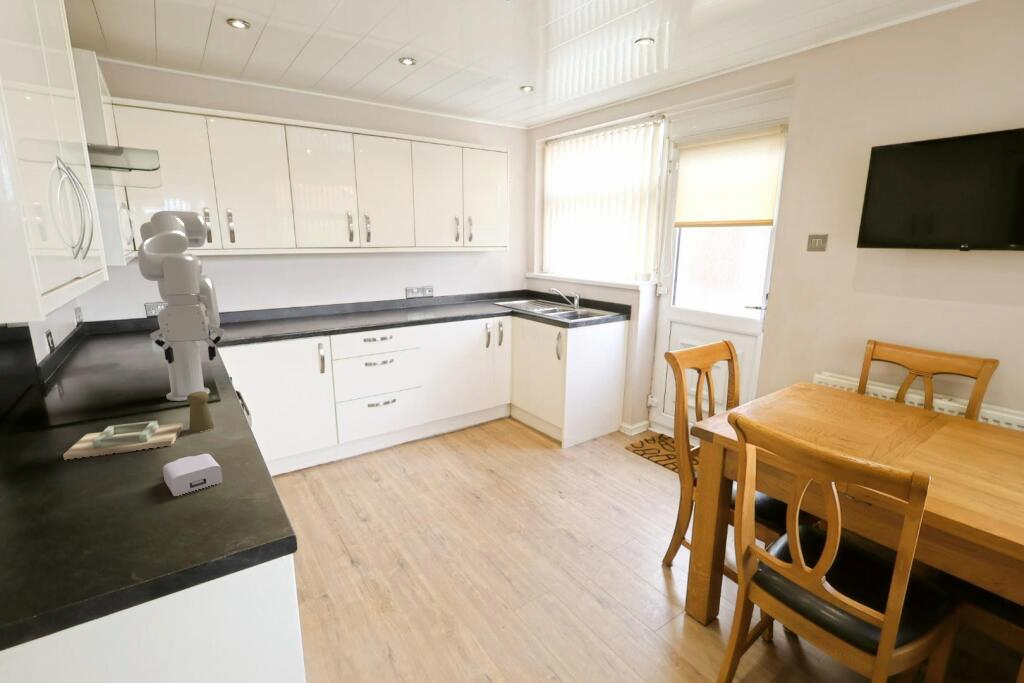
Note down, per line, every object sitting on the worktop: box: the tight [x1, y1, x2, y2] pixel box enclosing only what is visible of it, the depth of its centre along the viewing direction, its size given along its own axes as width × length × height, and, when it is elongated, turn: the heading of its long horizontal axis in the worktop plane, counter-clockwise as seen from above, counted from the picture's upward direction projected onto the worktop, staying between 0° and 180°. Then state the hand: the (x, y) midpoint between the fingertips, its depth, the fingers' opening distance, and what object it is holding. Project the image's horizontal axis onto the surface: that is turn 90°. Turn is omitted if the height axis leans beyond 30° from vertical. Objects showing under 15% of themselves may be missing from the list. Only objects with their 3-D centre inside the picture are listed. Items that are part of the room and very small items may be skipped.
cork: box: [186, 391, 215, 433], centre depth 134 cm, size 6×6×11 cm
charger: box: [162, 453, 224, 497], centre depth 106 cm, size 5×9×15 cm
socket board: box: [62, 420, 185, 461], centre depth 125 cm, size 14×22×4 cm, turn 114°
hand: (191, 361), depth 131 cm, fingers open, 9 cm apart
